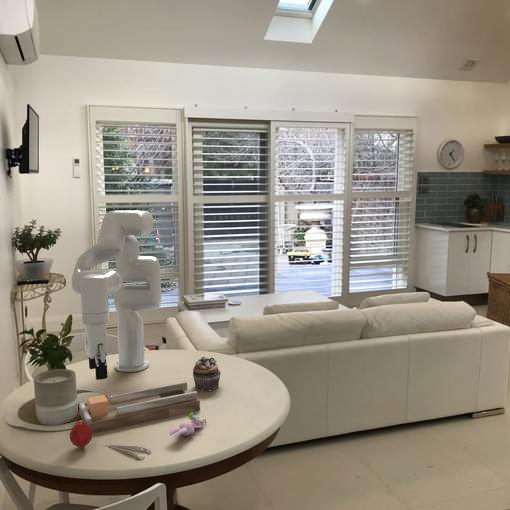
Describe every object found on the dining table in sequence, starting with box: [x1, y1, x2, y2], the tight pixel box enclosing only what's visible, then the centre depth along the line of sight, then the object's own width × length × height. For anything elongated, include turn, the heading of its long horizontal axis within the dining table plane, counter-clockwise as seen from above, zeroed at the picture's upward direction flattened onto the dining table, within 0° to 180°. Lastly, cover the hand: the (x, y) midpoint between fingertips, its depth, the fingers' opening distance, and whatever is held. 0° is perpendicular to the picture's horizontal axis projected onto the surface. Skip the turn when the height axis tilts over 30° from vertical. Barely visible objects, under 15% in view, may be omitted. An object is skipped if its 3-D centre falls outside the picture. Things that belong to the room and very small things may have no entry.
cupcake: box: [192, 356, 221, 392], centre depth 186 cm, size 10×10×10 cm
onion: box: [69, 419, 93, 449], centre depth 145 cm, size 6×6×8 cm
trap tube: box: [78, 381, 201, 434], centre depth 167 cm, size 14×34×5 cm, turn 118°
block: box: [87, 394, 109, 417], centre depth 160 cm, size 5×5×4 cm
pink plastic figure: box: [169, 412, 207, 438], centre depth 154 cm, size 6×6×15 cm
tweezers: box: [104, 444, 152, 460], centre depth 145 cm, size 17×5×2 cm, turn 65°
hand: (98, 373), depth 159 cm, fingers open, 9 cm apart
